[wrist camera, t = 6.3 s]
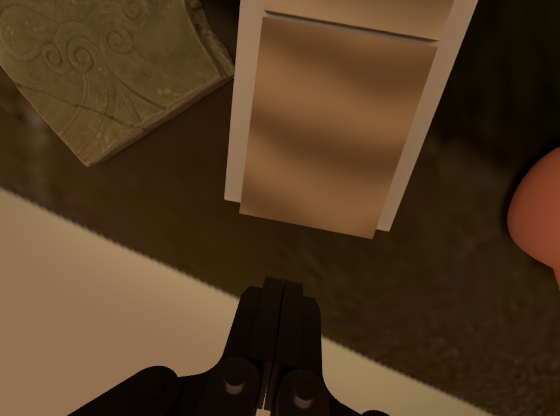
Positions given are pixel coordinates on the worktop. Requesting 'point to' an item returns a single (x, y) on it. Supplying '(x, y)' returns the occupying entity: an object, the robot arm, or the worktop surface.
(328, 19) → the light oak plank
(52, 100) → the decorative tile
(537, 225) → the teapot
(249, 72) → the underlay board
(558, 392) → the worktop surface
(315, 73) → the honey oak plank
